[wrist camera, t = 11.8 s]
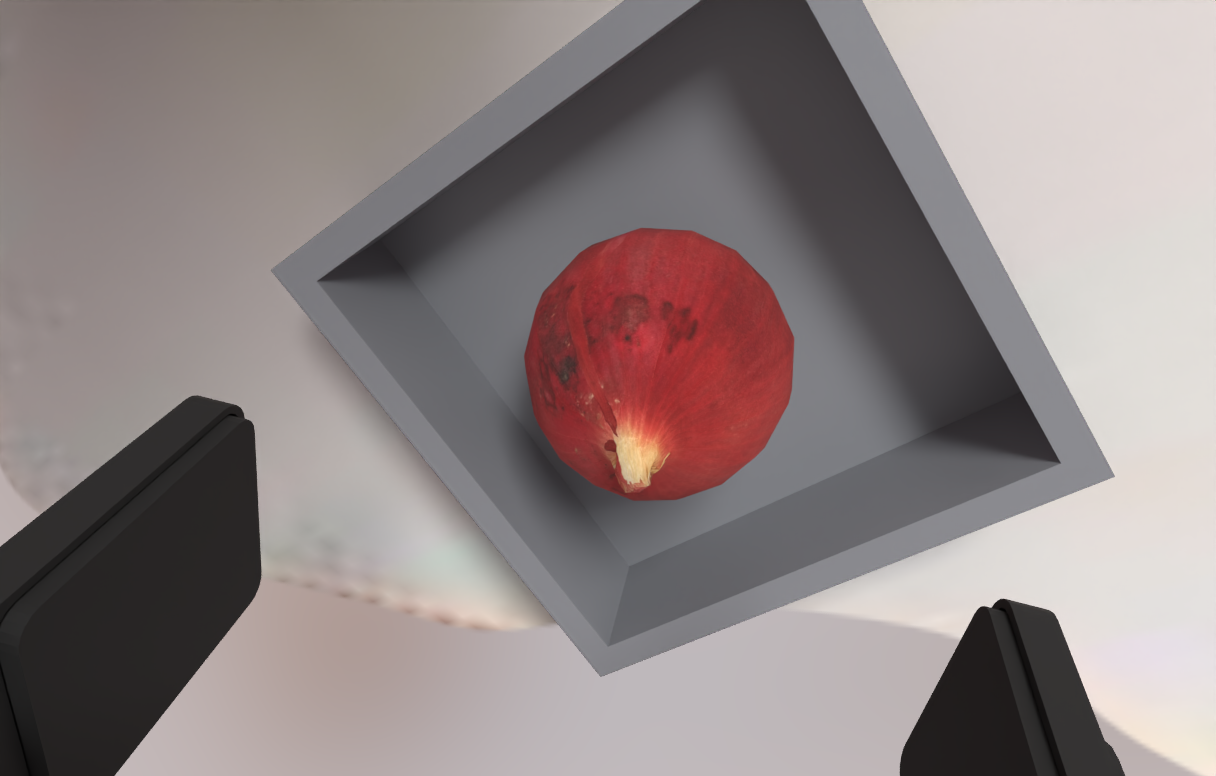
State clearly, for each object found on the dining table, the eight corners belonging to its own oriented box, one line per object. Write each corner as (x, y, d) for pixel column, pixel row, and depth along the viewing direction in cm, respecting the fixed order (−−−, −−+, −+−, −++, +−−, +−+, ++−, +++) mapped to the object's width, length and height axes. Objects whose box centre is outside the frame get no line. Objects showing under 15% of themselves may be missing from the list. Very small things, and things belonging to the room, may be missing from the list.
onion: (525, 305, 23) (407, 456, 16) (669, 142, 20) (605, 235, 13) (684, 443, 24) (639, 643, 17) (841, 304, 21) (867, 471, 14)
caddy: (357, 219, 24) (270, 270, 20) (792, -108, 18) (793, -129, 15) (627, 574, 27) (600, 677, 23) (1056, 385, 22) (1114, 476, 18)
